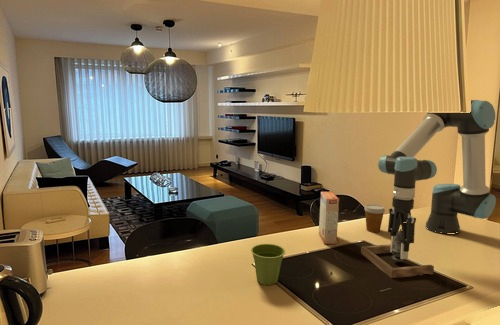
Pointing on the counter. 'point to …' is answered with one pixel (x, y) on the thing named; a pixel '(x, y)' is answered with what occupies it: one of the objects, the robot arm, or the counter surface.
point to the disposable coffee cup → (374, 217)
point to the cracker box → (328, 217)
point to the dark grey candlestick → (397, 247)
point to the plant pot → (267, 262)
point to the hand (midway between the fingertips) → (398, 255)
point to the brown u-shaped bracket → (386, 268)
